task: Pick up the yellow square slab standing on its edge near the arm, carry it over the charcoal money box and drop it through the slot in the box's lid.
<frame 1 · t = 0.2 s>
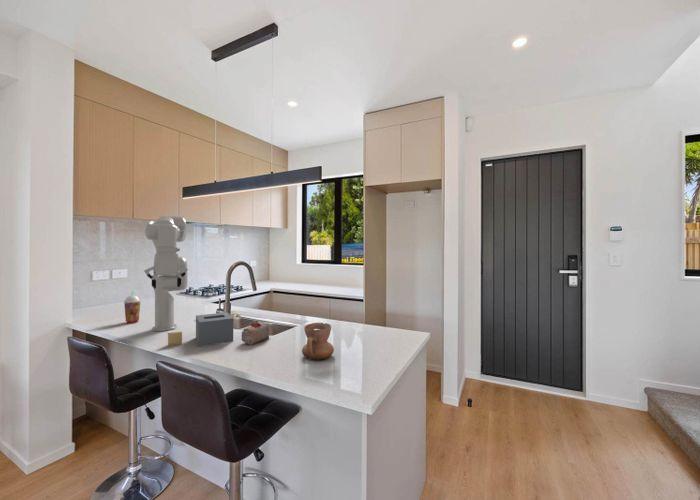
hand: (166, 287, 139), 30 cm above the table, tool pointing down, fingers open, 9 cm apart
money box: (214, 339, 159), on the table
smoothie: (132, 322, 190), on the table
food item: (255, 341, 157), on the table
yellow square slab: (174, 344, 150), on the table
ceramic jug: (317, 357, 136), on the table
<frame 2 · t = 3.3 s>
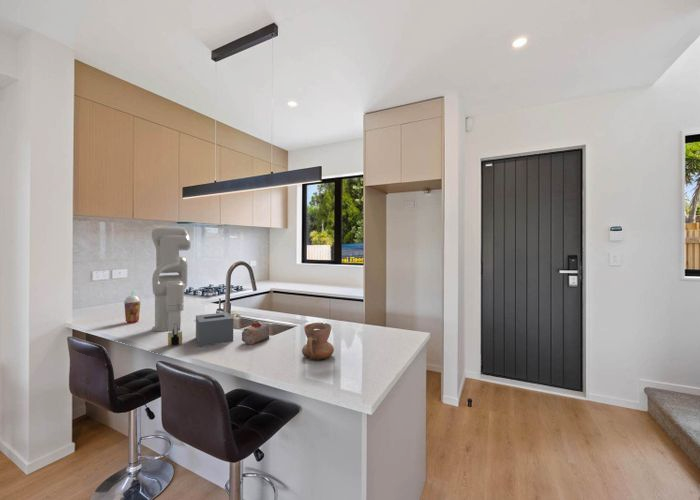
hand: (174, 343, 150), 0 cm above the table, tool pointing down, fingers closed on yellow square slab
yellow square slab: (175, 344, 150), on the table, touching gripper
everything else where it was.
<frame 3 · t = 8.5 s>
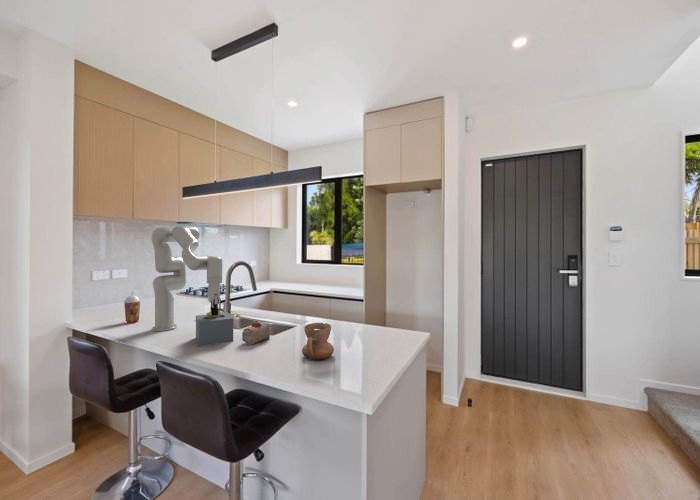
hand: (214, 314, 159), 13 cm above the table, tool pointing down, fingers closed
yellow square slab: (207, 318, 157), point 11 cm above the table, tilted 74°
everything else where it was.
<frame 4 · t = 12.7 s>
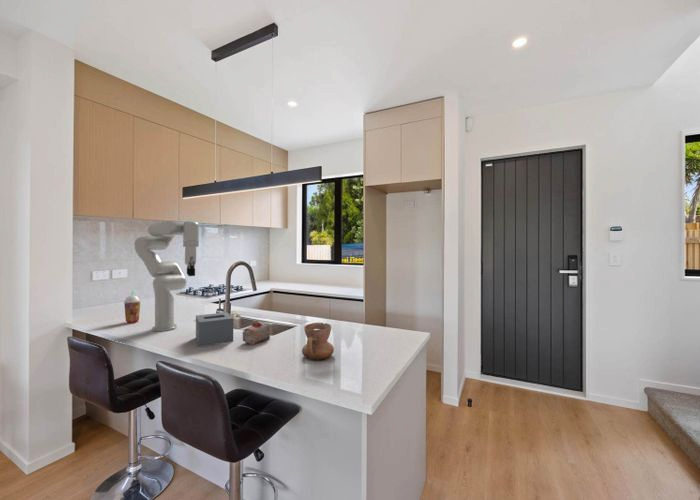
hand: (190, 275, 165), 33 cm above the table, tool pointing down, fingers open, 9 cm apart
yellow square slab: (209, 332, 158), point 4 cm above the table, tilted 90°, touching money box
everything else where it was.
at the end: yellow square slab inside the target area on the money box (2.2 cm from its centre), point 4.0 cm above the money box's base; the gripper is holding nothing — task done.
